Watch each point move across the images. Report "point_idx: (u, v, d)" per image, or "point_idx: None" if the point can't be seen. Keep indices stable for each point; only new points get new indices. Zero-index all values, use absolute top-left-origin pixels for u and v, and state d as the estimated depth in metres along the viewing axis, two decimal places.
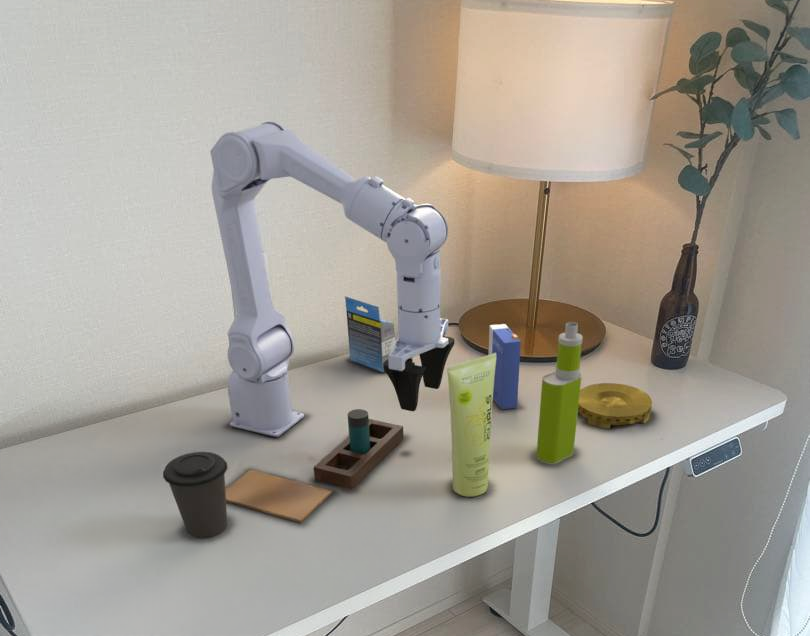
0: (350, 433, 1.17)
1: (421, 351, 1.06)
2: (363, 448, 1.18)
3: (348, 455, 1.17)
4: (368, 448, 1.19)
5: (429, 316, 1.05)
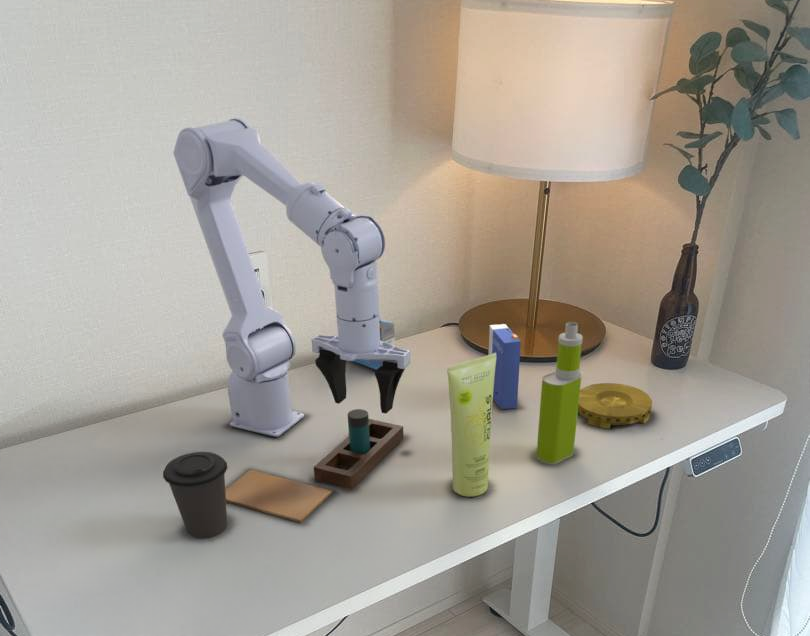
0: (350, 433, 1.17)
1: (331, 349, 1.10)
2: (363, 448, 1.18)
3: (348, 455, 1.17)
4: (368, 448, 1.19)
5: (339, 322, 1.07)
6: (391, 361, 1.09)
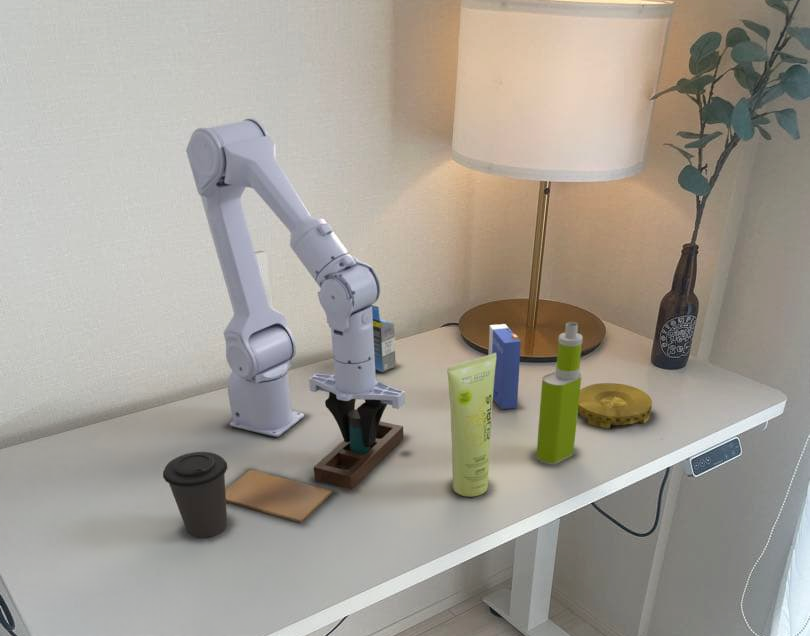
0: (350, 433, 1.17)
1: (327, 388, 1.14)
2: (363, 448, 1.18)
3: (348, 455, 1.17)
4: (368, 448, 1.19)
5: (335, 364, 1.10)
6: (386, 401, 1.12)
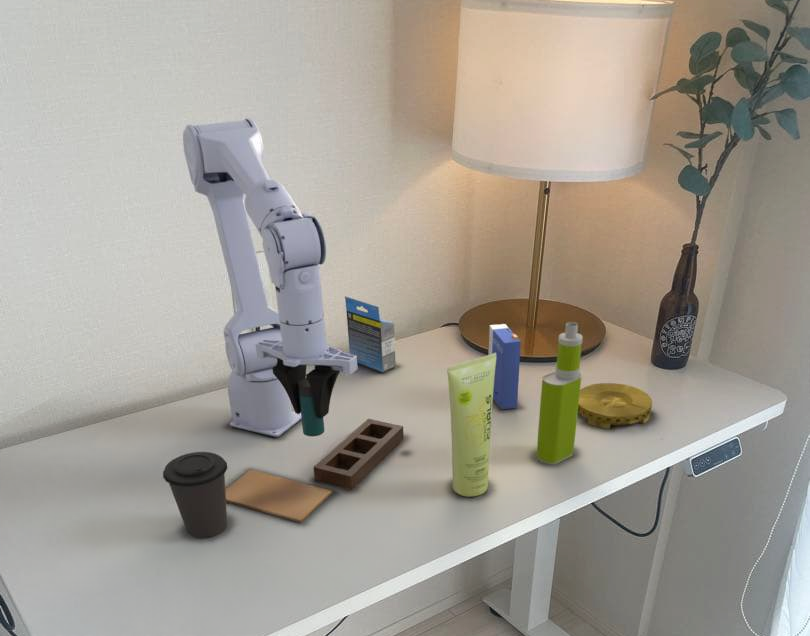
0: (301, 403, 1.09)
1: (274, 354, 1.05)
2: (315, 419, 1.10)
3: (348, 455, 1.17)
4: (321, 420, 1.10)
5: (281, 326, 1.02)
6: (337, 367, 1.04)
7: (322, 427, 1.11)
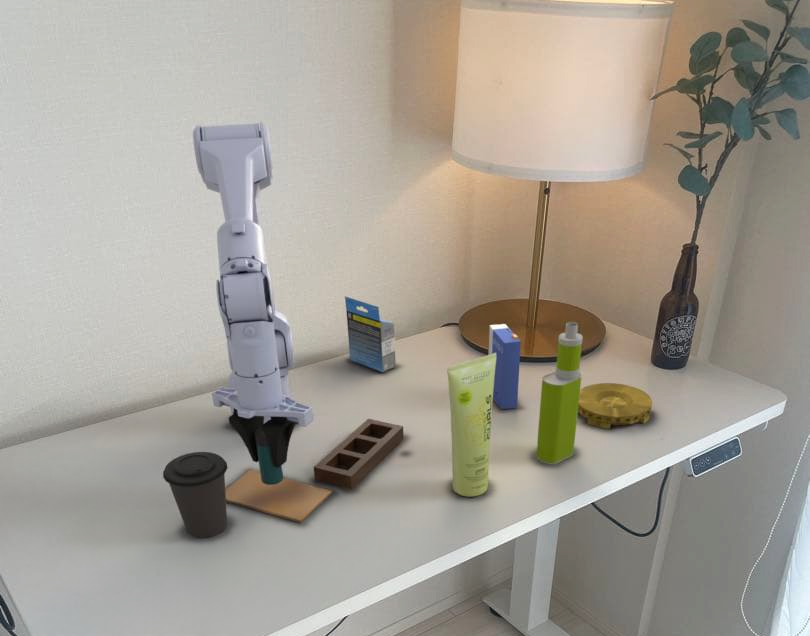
0: (258, 452, 1.08)
1: (230, 404, 1.04)
2: (272, 468, 1.09)
3: (348, 455, 1.17)
4: (279, 468, 1.09)
5: (235, 378, 1.01)
6: (293, 418, 1.03)
7: (280, 475, 1.10)
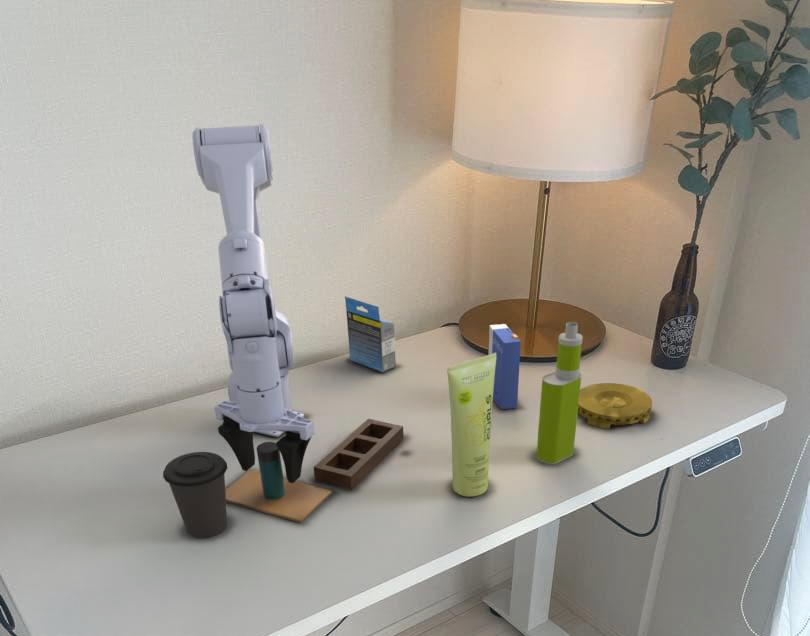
0: (260, 467, 1.09)
1: (232, 418, 1.06)
2: (274, 483, 1.10)
3: (348, 455, 1.17)
4: (281, 483, 1.11)
5: (238, 392, 1.02)
6: (294, 431, 1.04)
7: (282, 490, 1.12)
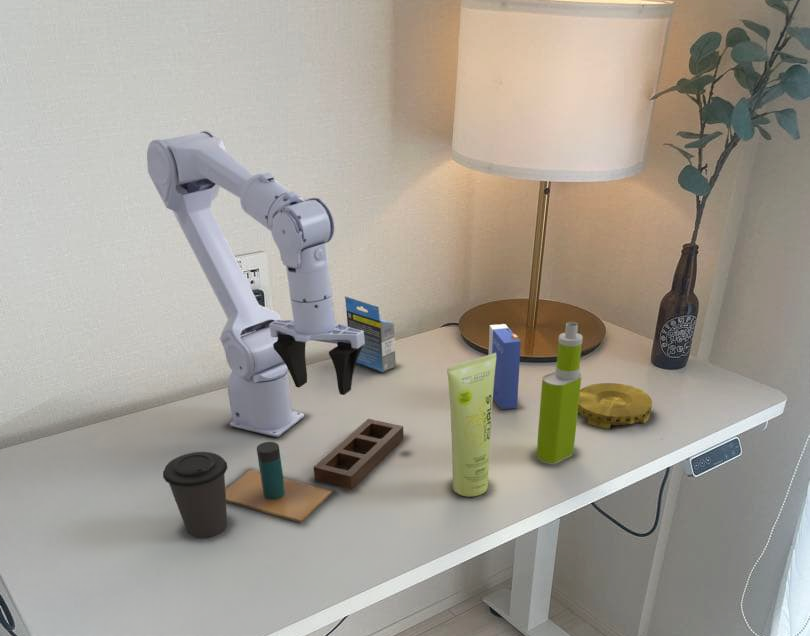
0: (260, 467, 1.09)
1: (287, 332, 1.12)
2: (274, 483, 1.10)
3: (348, 455, 1.17)
4: (281, 483, 1.11)
5: (292, 304, 1.09)
6: (345, 341, 1.10)
7: (282, 490, 1.12)
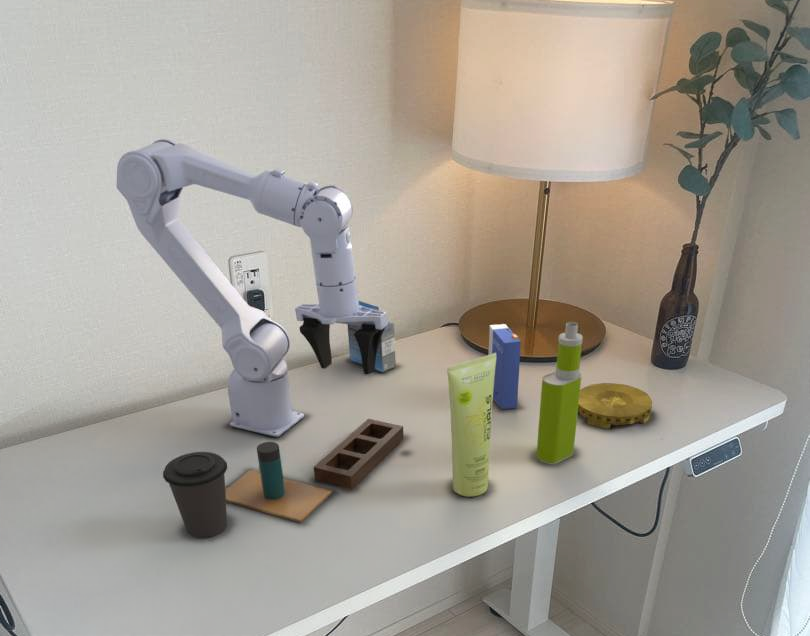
0: (260, 467, 1.09)
1: (313, 315, 1.17)
2: (274, 483, 1.10)
3: (348, 455, 1.17)
4: (281, 483, 1.11)
5: (318, 289, 1.14)
6: (369, 323, 1.15)
7: (282, 490, 1.12)
